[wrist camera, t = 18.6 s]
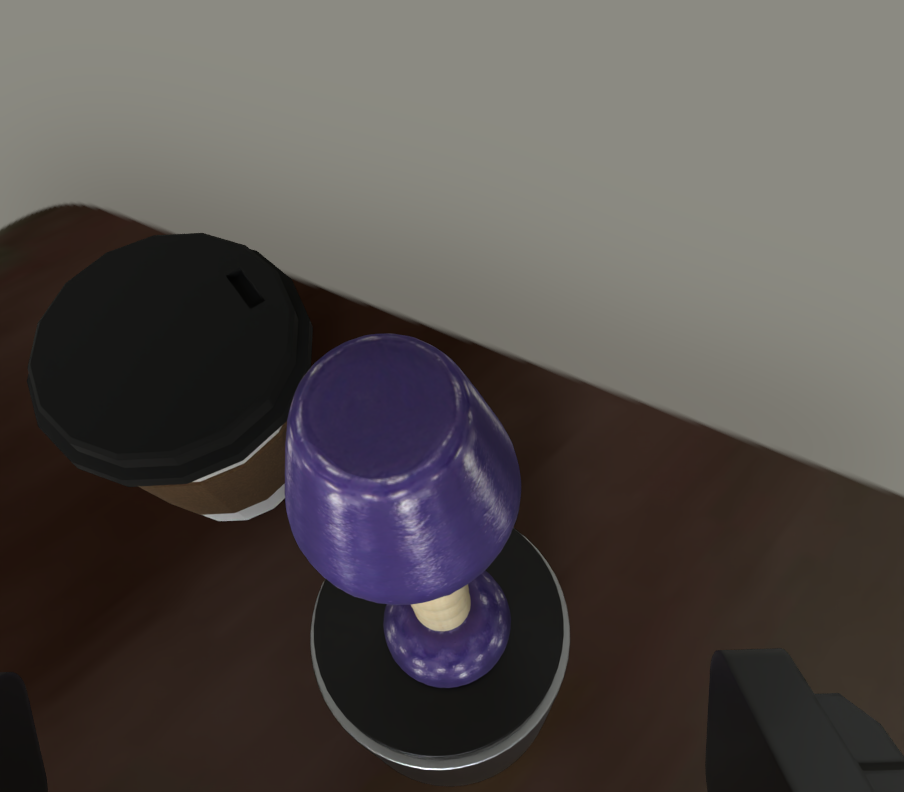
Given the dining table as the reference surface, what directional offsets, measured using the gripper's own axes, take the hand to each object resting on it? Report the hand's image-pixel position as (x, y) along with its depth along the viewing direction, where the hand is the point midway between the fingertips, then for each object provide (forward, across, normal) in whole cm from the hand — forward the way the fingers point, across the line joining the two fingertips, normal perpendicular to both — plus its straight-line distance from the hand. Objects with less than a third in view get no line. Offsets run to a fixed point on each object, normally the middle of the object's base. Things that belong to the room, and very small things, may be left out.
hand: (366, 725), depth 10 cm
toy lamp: (+16, 0, +9) cm, 19 cm away
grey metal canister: (+24, 0, +16) cm, 29 cm away
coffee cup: (+31, +10, +9) cm, 34 cm away
